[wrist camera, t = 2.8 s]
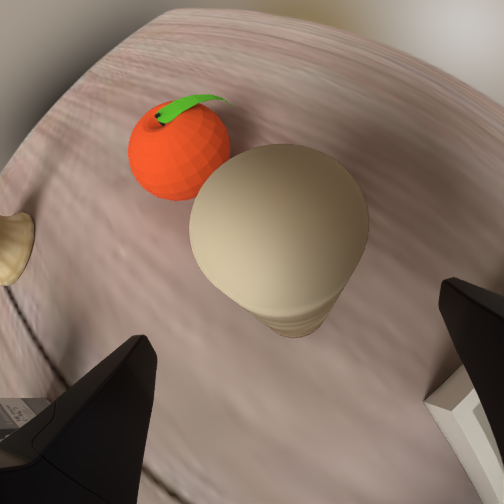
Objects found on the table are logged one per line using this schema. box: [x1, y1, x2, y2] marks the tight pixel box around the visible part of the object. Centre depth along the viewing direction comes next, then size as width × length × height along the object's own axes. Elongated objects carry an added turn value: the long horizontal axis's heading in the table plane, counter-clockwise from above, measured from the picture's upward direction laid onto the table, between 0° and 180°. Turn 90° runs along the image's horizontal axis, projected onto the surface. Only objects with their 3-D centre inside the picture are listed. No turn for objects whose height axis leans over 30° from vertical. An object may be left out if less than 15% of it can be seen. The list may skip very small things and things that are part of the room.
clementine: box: [128, 95, 232, 201], centre depth 19 cm, size 8×7×7 cm
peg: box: [189, 144, 369, 338], centre depth 12 cm, size 4×4×12 cm
